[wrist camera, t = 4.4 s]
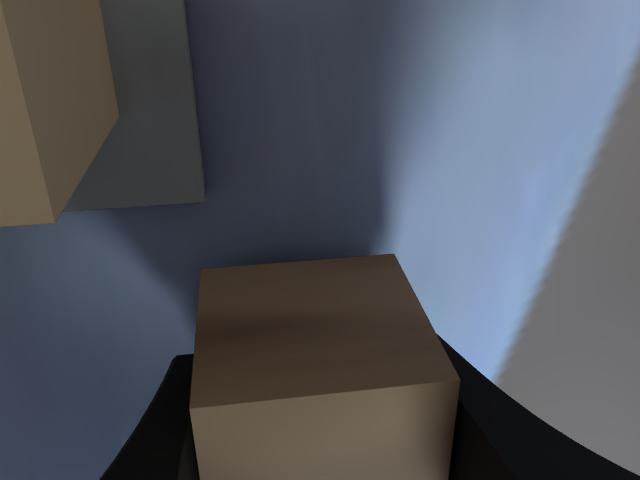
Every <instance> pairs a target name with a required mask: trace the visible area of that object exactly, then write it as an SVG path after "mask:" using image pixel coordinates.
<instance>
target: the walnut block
mask: <svg viewBox="0 0 640 480" xmlns="http://www.w3.org/2000/svg"><path fill="white" fill-rule="evenodd" d="M459 387H460V378H459V376H458V374H457V372H456V371H455V369H454V367H453V365H452V363H451V361H450V359H449V357H448V355H447V353H446V352H445V350H444V348H443V346H442V344H441V342H440V340H439V338H438V336H437V334H436V333H435V331H434V329H433V327H432V325H431V323H430V321H429V319H428V317H427V316H426V314H425V312H424V310H423V308H422V306H421V304H420V302H419V300H418V298H417V297H416V295H415V293H414V291H413V289H412V287H411V285H410V283H409V281H408V279H407V278H406V276H405V274H404V272H403V270H402V268H401V266H400V264H399V262H398V260H397V259H396V257H395V255H394V254H384V255H372V256H359V257H347V258H334V259H322V260H309V261H297V262H284V263H272V264H259V265H246V266H234V267H221V268H209V269H201V273H200V285H199V297H198V309H197V322H196V334H195V346H194V359H193V371H192V383H191V395H190V408H189V410H190V416H191V423H192V429H193V436H194V442H195V449H196V456H197V462H198V469H199V475H200V480H448V476H449V468H450V460H451V452H452V444H453V436H454V428H455V420H456V411H457V403H458V395H459Z"/></svg>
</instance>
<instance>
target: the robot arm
mask: <svg viewBox="0 0 640 480" xmlns="http://www.w3.org/2000/svg"><path fill="white" fill-rule="evenodd" d="M437 336H438V338H439V340H440V342H441V344H442V346H443V348H444V350H445V352H446V353H447V355H448V357H449V359H450V361H451V363H452V365H453V367H454V369H455V371H456V372H457V374H458V376H459V378H460V387H459V395H458V403H457V411H456V420H455V428H454V436H453V444H452V452H451V460H450V468H449V476H448V480H640V476H638V475H637V474H634V473H632V472H630V471H628V470H626V469H624V468H622V467H620V466H618V465H617V464H615V463H613V462H611V461H609V460H607V459H606V458H604V457H602V456H600V455H598V454H596V453H594V452H593V451H591V450H589V449H587V448H585V447H584V446H582V445H580V444H579V443H577V442H575V441H574V440H572V439H571V438H569V437H567V436H566V435H564V434H563V433H561V432H560V431H558V430H556V429H555V428H553V427H552V426H550V425H548V424H547V423H546V422H544V421H543V420H541V419H540V418H538V417H537V416H535V415H534V414H532V413H531V412H530V411H528V410H527V409H526V408H524V407H523V406H522V405H520V404H519V403H518V402H516V401H515V400H513V399H512V398H511V397H510V396H508V395H507V394H506V393H505V392H503V391H502V390H501V389H499V388H498V387H497V386H496V385H495V384H493V383H492V382H491V381H490V380H489V379H487V378H486V377H485V376H484V375H482V374H481V373H480V372H479V371H478V370H477V369H476V368H474V367H473V366H472V365H471V364H470V363H469V362H468V361H466V360H465V359H464V358H463V357H462V356H461V355H460V354H459V353H457V352H456V351H455V350H454V349H453V348H452V347H451V346H450V345H449V344H447V343H446V342H445V341H444V340H443V339H442V338H441V337H440V336H439V335H437ZM193 359H194V354H187V355H177V356H176V357H175V358H174V359H173V360H172V362H171V364H170V366H169V369H168V371H167V373H166V375H165V377H164V379H163V381H162V383H161V385H160V387H159V389H158V391H157V392H156V394H155V396H154V398H153V400H152V402H151V403H150V405H149V407H148V408H147V410H146V412H145V413H144V415H143V417H142V418H141V420H140V422H139V423H138V425H137V427H136V428H135V430H134V431H133V433H132V434H131V436H130V437H129V439H128V440H127V442H126V443H125V445H124V446H123V448H122V449H121V450H120V452H119V453H118V455H117V456H116V458H115V459H114V461H113V462H112V463H111V465H110V466H109V467H108V469H107V470H106V471H105V473H104V474H103V475H102V477H101V478H100V479H99V480H200V475H199V469H198V462H197V456H196V449H195V442H194V436H193V429H192V423H191V416H190V410H189V408H190V395H191V383H192V371H193Z"/></svg>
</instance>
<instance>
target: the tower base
mask: <svg viewBox="0 0 640 480" xmlns="http://www.w3.org/2000/svg"><path fill="white" fill-rule="evenodd" d="M205 197H206V188H205V179H204V170H203V161H202V152H201V143H200V134H199V125H198V116H197V107H196V98H195V89H194V80H193V71H192V62H191V53H190V44H189V35H188V26H187V17H186V8H185V0H0V227H7V226H22V225H36V224H51V223H55V222H56V221H57V219H58V217H59V216H60V214H61V212H67V211H82V210H97V209H112V208H127V207H142V206H157V205H172V204H187V203H202V202H205Z"/></svg>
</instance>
